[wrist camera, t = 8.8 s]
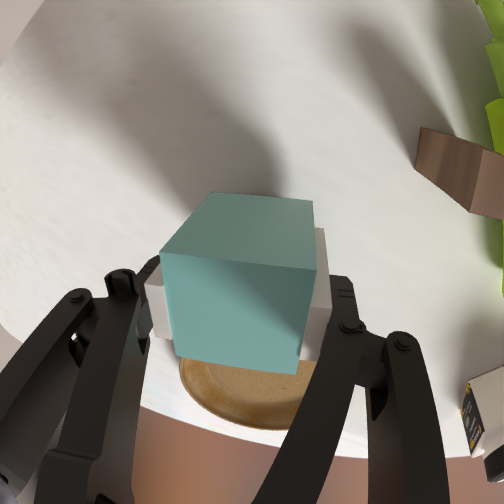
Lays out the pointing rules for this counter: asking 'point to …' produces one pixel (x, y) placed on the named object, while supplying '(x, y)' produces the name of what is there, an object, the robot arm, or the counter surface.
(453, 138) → the post walnut
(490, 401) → the medicine bottle
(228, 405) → the plant saucer
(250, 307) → the teal foam cube
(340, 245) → the counter surface
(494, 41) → the soap dispenser
